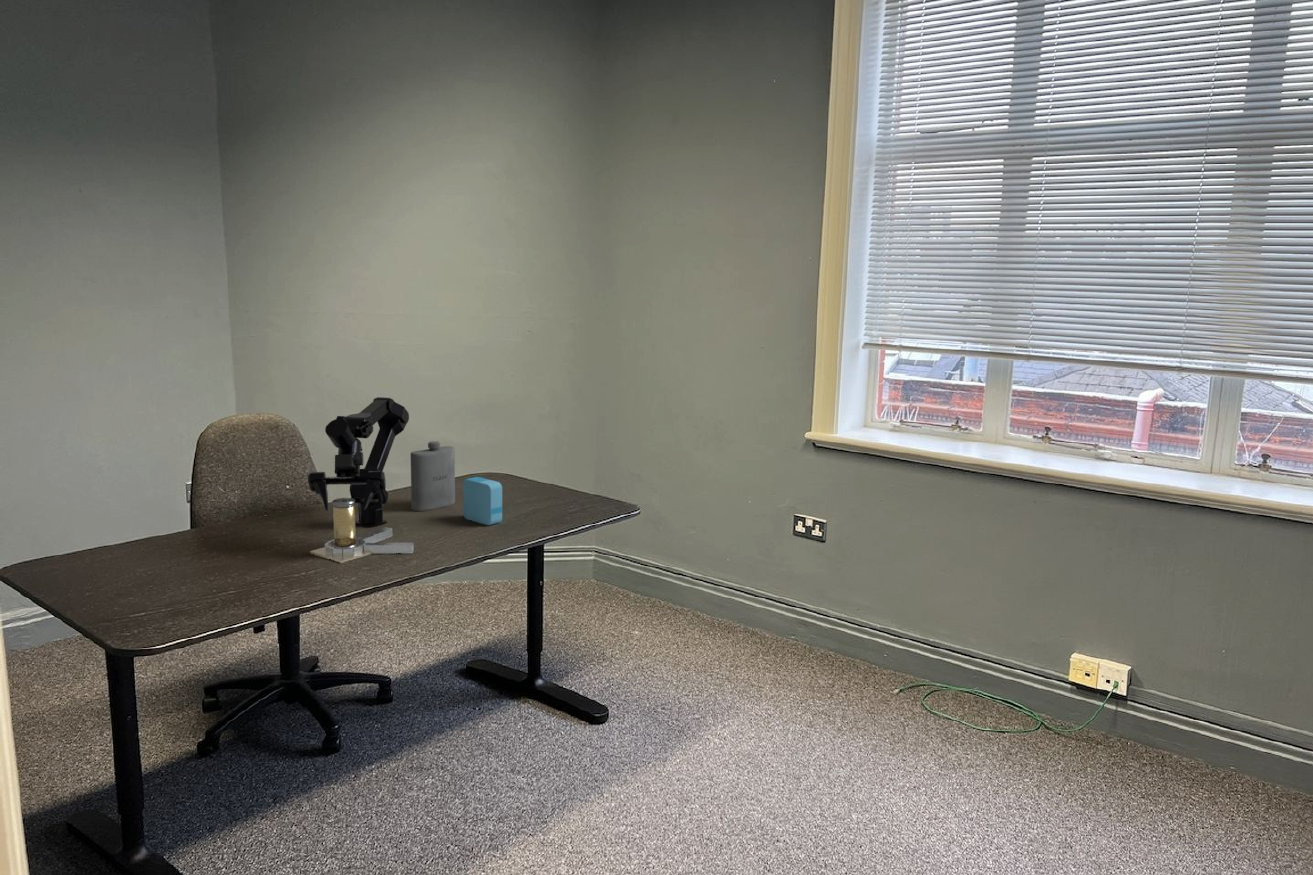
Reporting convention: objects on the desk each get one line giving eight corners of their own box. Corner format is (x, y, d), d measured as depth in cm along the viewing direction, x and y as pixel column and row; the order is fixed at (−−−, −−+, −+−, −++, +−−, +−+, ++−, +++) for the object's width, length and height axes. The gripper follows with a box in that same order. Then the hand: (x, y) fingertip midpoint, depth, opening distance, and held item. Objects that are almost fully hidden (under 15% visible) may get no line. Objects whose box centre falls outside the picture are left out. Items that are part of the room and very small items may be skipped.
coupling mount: (310, 553, 234) (309, 544, 234) (382, 533, 253) (382, 524, 252) (361, 569, 223) (360, 559, 223) (432, 547, 242) (432, 538, 242)
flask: (420, 513, 274) (419, 446, 270) (408, 509, 277) (406, 443, 273) (460, 503, 285) (459, 440, 281) (448, 500, 289) (447, 437, 285)
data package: (502, 523, 266) (502, 482, 263) (490, 526, 262) (490, 485, 260) (474, 515, 273) (474, 475, 271) (462, 518, 270) (462, 478, 267)
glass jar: (329, 550, 235) (327, 500, 232) (347, 545, 239) (345, 496, 237) (343, 554, 232) (341, 504, 230) (361, 549, 236) (359, 500, 234)
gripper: (307, 441, 236) (301, 494, 227) (383, 440, 239) (380, 492, 231) (313, 464, 245) (308, 516, 236) (386, 463, 248) (384, 514, 240)
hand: (345, 509), depth 236 cm, fingers open, 9 cm apart
